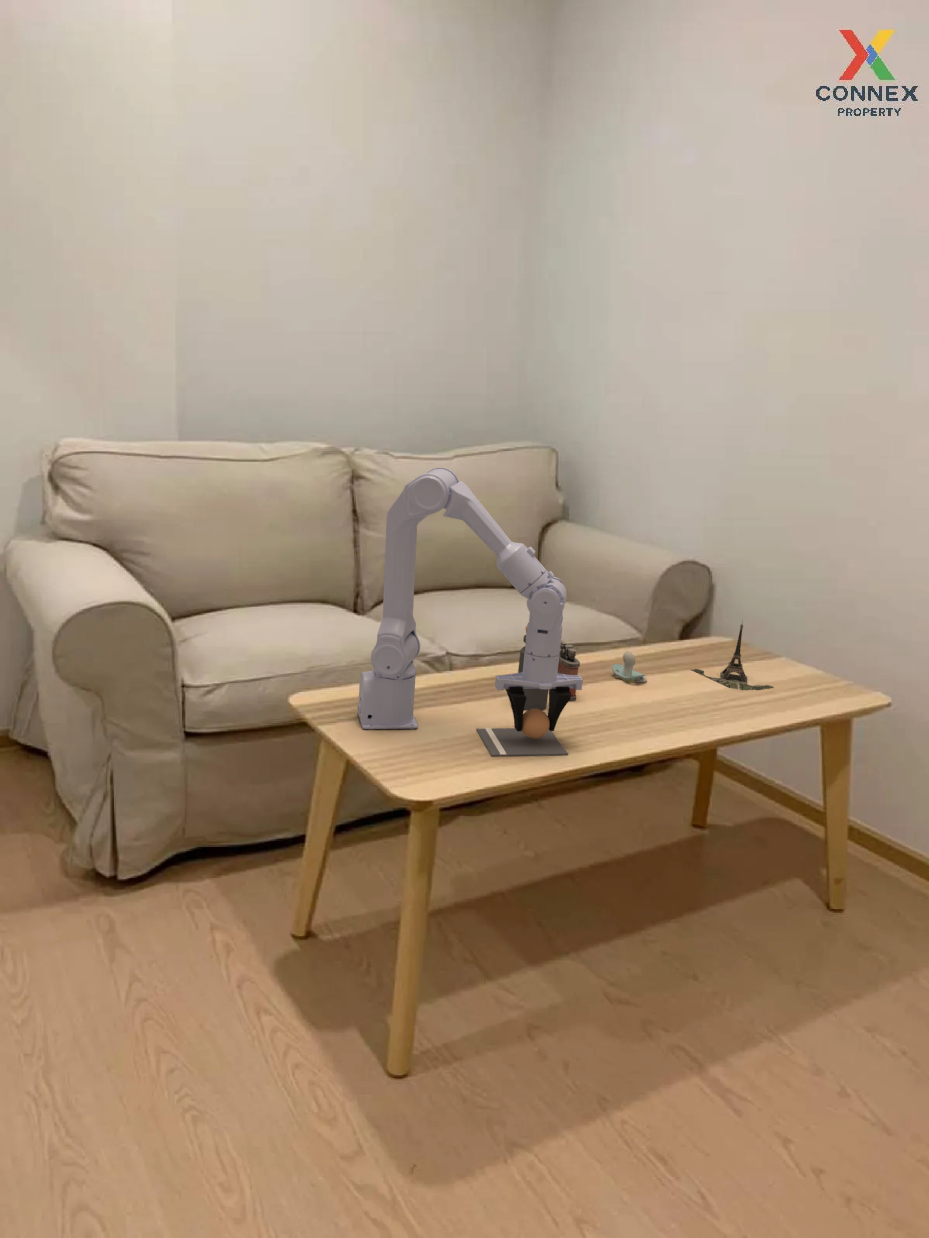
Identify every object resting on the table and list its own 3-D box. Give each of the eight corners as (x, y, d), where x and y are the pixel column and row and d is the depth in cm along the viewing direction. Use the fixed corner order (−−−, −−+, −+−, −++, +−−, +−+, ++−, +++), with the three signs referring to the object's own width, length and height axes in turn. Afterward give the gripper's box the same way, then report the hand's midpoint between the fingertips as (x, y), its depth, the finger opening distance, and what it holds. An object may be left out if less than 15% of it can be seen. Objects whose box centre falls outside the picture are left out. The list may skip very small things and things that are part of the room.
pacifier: (627, 672, 212) (607, 675, 208) (632, 644, 210) (611, 646, 207) (653, 683, 206) (632, 687, 203) (658, 654, 205) (637, 657, 201)
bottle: (520, 711, 184) (528, 632, 180) (510, 700, 190) (518, 623, 186) (551, 710, 186) (559, 632, 182) (540, 699, 191) (548, 623, 187)
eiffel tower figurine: (688, 671, 217) (696, 611, 213) (723, 666, 222) (731, 608, 218) (739, 695, 204) (749, 632, 201) (775, 689, 210) (785, 627, 206)
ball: (523, 743, 168) (525, 715, 166) (515, 731, 173) (517, 704, 171) (552, 743, 169) (554, 715, 168) (543, 731, 174) (546, 704, 172)
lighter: (579, 700, 192) (585, 650, 190) (563, 701, 191) (569, 651, 188) (560, 686, 200) (566, 637, 197) (545, 687, 198) (550, 638, 196)
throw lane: (491, 756, 164) (491, 754, 164) (476, 730, 174) (476, 728, 174) (568, 755, 167) (568, 753, 167) (548, 729, 177) (549, 727, 177)
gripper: (505, 659, 161) (498, 738, 165) (592, 660, 165) (582, 737, 168) (494, 645, 168) (487, 722, 172) (578, 646, 171) (569, 721, 175)
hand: (534, 728), depth 170 cm, fingers open, 5 cm apart
